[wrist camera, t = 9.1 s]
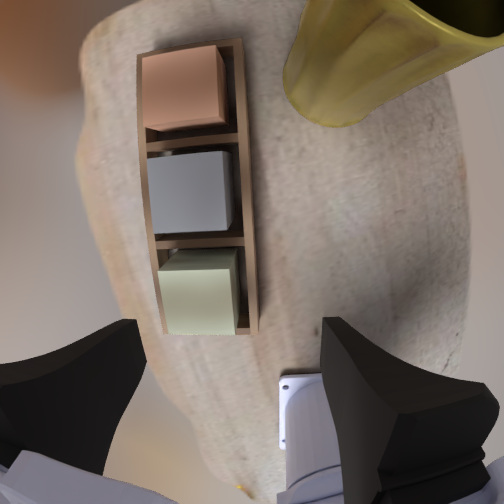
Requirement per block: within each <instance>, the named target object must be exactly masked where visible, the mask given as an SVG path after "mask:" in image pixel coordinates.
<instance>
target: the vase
mask: <svg viewBox="0 0 504 504" xmlns="http://www.w3.org/2000/svg"><path fill="white" fill-rule="evenodd" d="M502 46H504V0H307V1H306V4H305V6H304V9H303V11H302V13H301V17H300V23H299V28H298V33H297V37H296V39H295V42H294V44H293V46H292V48H291V51H290V53H289V56H288V60H287V62H286V64H285V66H284V70H283V85H284V90H285V93H286V96H287V98H288V100H289V101H290V103H291V104H292V106H293V107H294V108H295V109H296V110H297V111H298V112H299V113H300V114H301V115H302V116H304V117H305V118H306V119H308V120H310V121H312V122H314V123H316V124H319V125H322V126H326V127H334V128H338V127H346V126H350V125H353V124H356V123H358V122H360V121H361V120H363V119H364V118H365V117H366V116H367V115H368V114H369V113H370V112H371V111H373V110H374V109H376V108H377V107H379V106H380V105H382V104H384V103H385V102H387V101H389V100H391V99H393V98H395V97H397V96H399V95H401V94H403V93H404V92H406V91H408V90H410V89H412V88H414V87H416V86H418V85H420V84H422V83H424V82H426V81H428V80H430V79H432V78H434V77H436V76H438V75H440V74H443V73H445V72H447V71H449V70H452V69H454V68H456V67H458V66H460V65H462V64H464V63H466V62H468V61H470V60H472V59H474V58H477V57H479V56H481V55H483V54H485V53H487V52H490V51H492V50H494V49H497V48H499V47H502Z"/></svg>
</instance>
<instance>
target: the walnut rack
mask: <svg viewBox="0 0 504 504" xmlns="http://www.w3.org/2000/svg"><path fill="white" fill-rule="evenodd" d="M227 57H234V71H235V89H236V107H237V125H238V133H230V134H218V135H207V136H198V137H189V138H180V139H173V140H165V141H158V142H157V130H158V131H162V132H166V133H170V132H178V131H186V130H194V129H203V128H213V127H223V126H229V113H228V95H227V75H226V66H225V64H224V62H223V59H222V58H227ZM137 127H138V147H139V163H140V176H141V187H142V197H143V207H144V216H145V224H146V232H147V240H148V247H149V254H150V261H151V268H152V274H153V280H154V286H155V292H156V297H157V303H158V308H159V313H160V319H161V324H162V328H163V333H164V334H179V335H258V334H259V301H258V282H257V264H256V245H255V227H254V209H253V191H252V173H251V155H250V138H249V121H248V104H247V87H246V70H245V53H244V46H243V42H242V38H233V39H223V40H214V41H207V42H199V43H193V44H187V45H181V46H175V47H170V48H165V49H160V50H155V51H151V52H146V53H142V54H138V55H137ZM234 144H239V159H240V176H241V193H242V209H243V225H244V230H231V231H210V232H191V233H173V234H165V233H158V234H153V225H152V216H151V206H150V196H149V185H148V172H147V159H150V158H158V152H165V151H173V150H181V149H190V148H200V147H210V146H221V145H234ZM223 246H245V257H246V272H247V288H248V303H249V314H239V313H240V308H241V296H240V283H239V270H238V256H237V249H213V250H188V251H177V252H176V253H175V254H174V255H173V256H172V257H171V258H170V259H169V258H168V250H167V249H176V248H199V247H223Z"/></svg>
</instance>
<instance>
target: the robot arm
mask: <svg viewBox="0 0 504 504" xmlns="http://www.w3.org/2000/svg"><path fill="white" fill-rule="evenodd" d="M146 362H147V360H146V356H145V352H144V349H143V345H142V341H141V337H140V333H139V329H138V324H137V320H136V319H122V320H119V321H116V322H114V323H112V324H110V325H108V326H106V327H104V328H102V329H100V330H98V331H96V332H94V333H92V334H90V335H88V336H86V337H84V338H82V339H80V340H78V341H76V342H74V343H72V344H70V345H67V346H65V347H63V348H61V349H58V350H56V351H53V352H50V353H47V354H45V355H41V356H38V357H34V358H30V359H27V360H22V361H18V362H12V363H5V364H0V504H179V503H177V502H175V501H173V500H171V499H169V498H167V497H165V496H163V495H161V494H159V493H157V492H155V491H152V490H148V489H145V488H142V487H139V486H136V485H133V484H130V483H126V482H122V481H118V480H114V479H110V478H107V477H104V476H102V475H103V471H104V467H105V463H106V459H107V456H108V452H109V448H110V445H111V442H112V439H113V436H114V434H115V431H116V428H117V426H118V423H119V421H120V419H121V417H122V415H123V413H124V411H125V409H126V408H127V406H128V404H129V402H130V400H131V398H132V396H133V394H134V392H135V390H136V388H137V386H138V384H139V382H140V380H141V378H142V375H143V372H144V369H145V366H146ZM320 366H321V373H317V374H301V375H284V376H282V377H280V379H279V447H280V448H281V449H284V450H286V491H284V492H280V493H277V504H504V456H503V457H501V458H499V459H497V460H495V461H493V462H492V463H491V464H489V465H488V466H487V467H486V468H485V466H484V464H483V462H482V460H483V459H484V457H485V452H484V451H483V449H482V447H481V446H482V445H483V443H484V442H485V440H486V438H487V437H488V435H489V433H490V432H491V430H492V428H493V427H494V425H495V423H496V420H497V418H498V415H499V409H500V406H499V403H498V401H497V399H496V398H495V397H494V395H493V394H492V393H491V392H490V390H489V389H488V388H487V387H486V385H485V384H484V383H480V382H473V381H466V380H459V379H454V378H450V377H446V376H442V375H439V374H435V373H432V372H429V371H426V370H424V369H421V368H418V367H416V366H413V365H411V364H409V363H406V362H404V361H402V360H401V359H399V358H397V357H395V356H393V355H391V354H389V353H388V352H386V351H384V350H383V349H381V348H380V347H378V346H377V345H375V344H374V343H372V342H371V341H369V340H368V339H367V338H365V337H364V336H363V335H361V334H360V333H359V332H358V331H356V330H355V329H354V328H353V327H351V326H350V325H349V324H348V323H347V322H345V321H344V320H343V319H342V318H340V317H339V316H338V317H323V321H322V339H321V355H320ZM284 385H288V386H287V387H284Z"/></svg>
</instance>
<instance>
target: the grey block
mask: <svg viewBox="0 0 504 504" xmlns="http://www.w3.org/2000/svg"><path fill="white" fill-rule="evenodd" d="M147 172H148V185H149V196H150V206H151V216H152V225H153V234H158V233H176V232H196V231H217V230H227V229H228V228H229V226H230V225H231V223H232V221H233V220H234V218H235V205H234V188H233V171H232V154H231V153H228V152H224V151H215V152H203V153H193V154H183V155H174V156H166V157H158V158H150V159H147Z"/></svg>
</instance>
